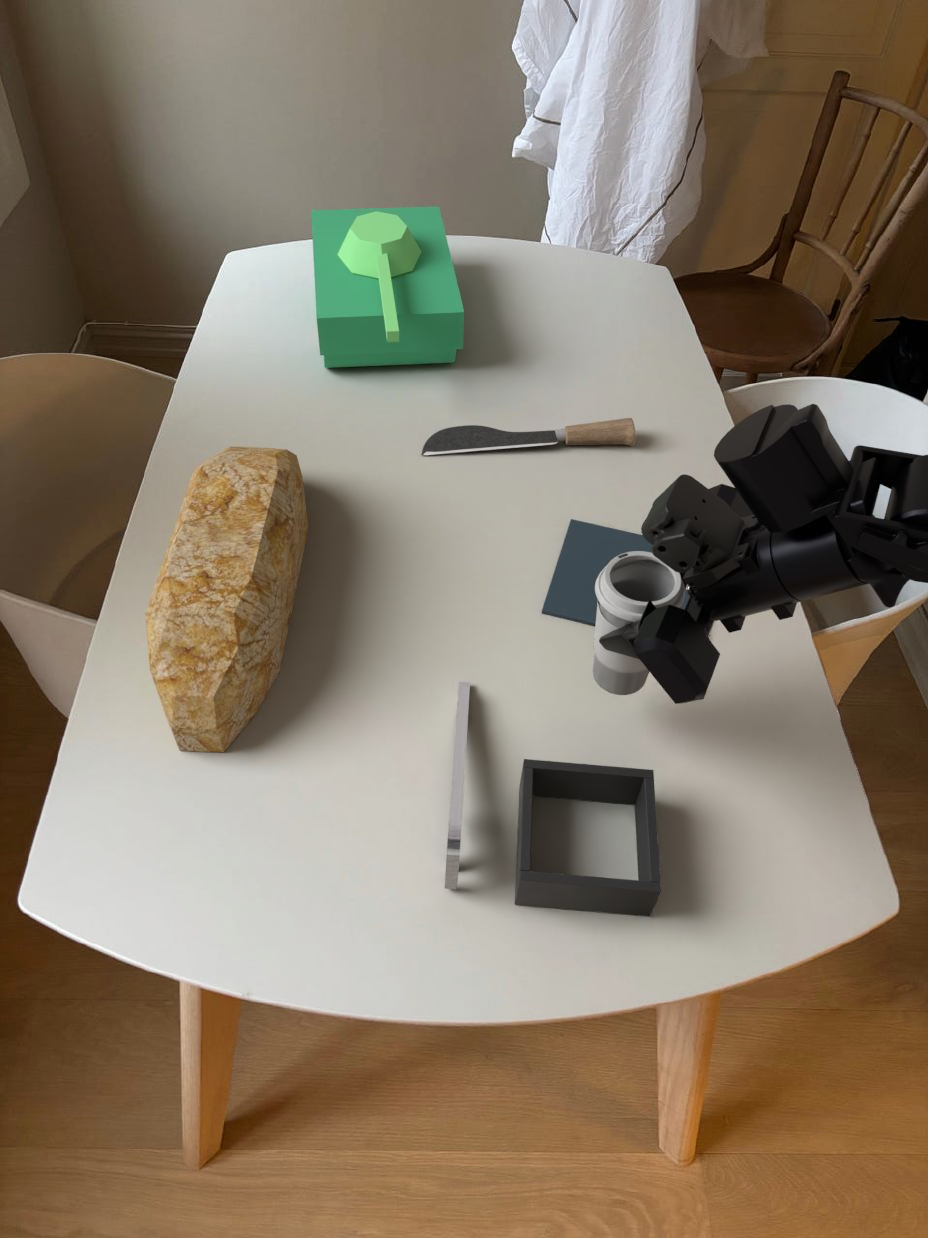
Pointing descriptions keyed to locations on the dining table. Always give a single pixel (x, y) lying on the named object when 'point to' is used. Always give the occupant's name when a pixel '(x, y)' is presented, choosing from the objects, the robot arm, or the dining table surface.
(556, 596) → the mat
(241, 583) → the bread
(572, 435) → the hand tool
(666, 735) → the dining table surface
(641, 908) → the holder
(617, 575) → the cup
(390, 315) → the toy tank
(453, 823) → the caliper
